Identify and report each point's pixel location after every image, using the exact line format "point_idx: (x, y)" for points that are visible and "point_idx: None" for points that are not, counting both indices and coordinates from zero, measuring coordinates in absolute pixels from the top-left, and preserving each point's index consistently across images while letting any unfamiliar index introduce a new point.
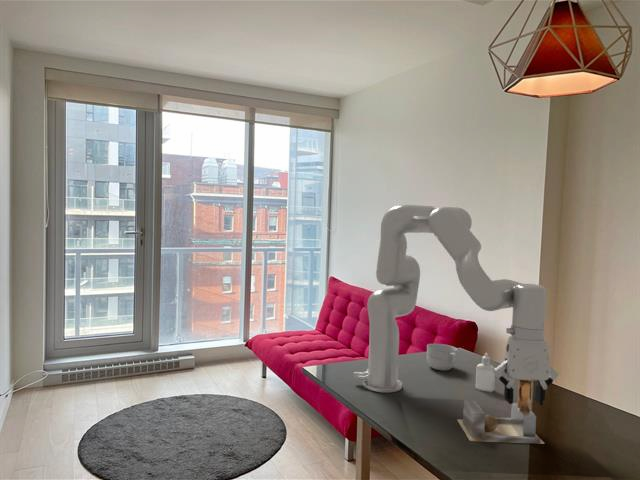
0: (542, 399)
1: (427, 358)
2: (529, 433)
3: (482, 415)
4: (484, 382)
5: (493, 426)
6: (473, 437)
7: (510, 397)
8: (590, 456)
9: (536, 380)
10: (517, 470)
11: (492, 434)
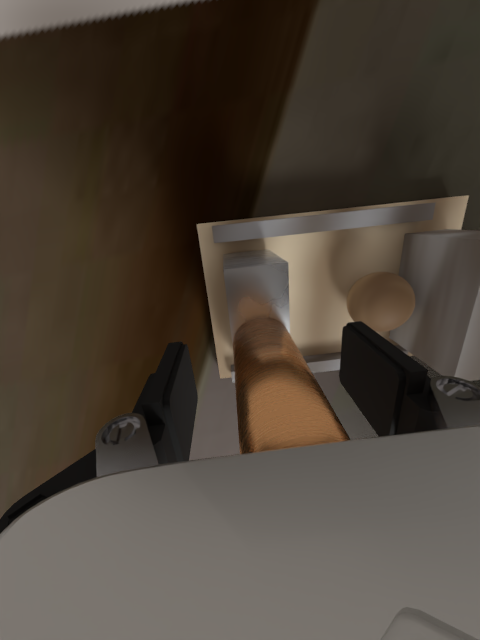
0: (167, 358)
1: None
2: (245, 254)
3: None
4: None
5: (374, 274)
6: (443, 225)
7: (382, 337)
8: (45, 199)
9: (218, 457)
10: (355, 10)
11: (362, 265)
